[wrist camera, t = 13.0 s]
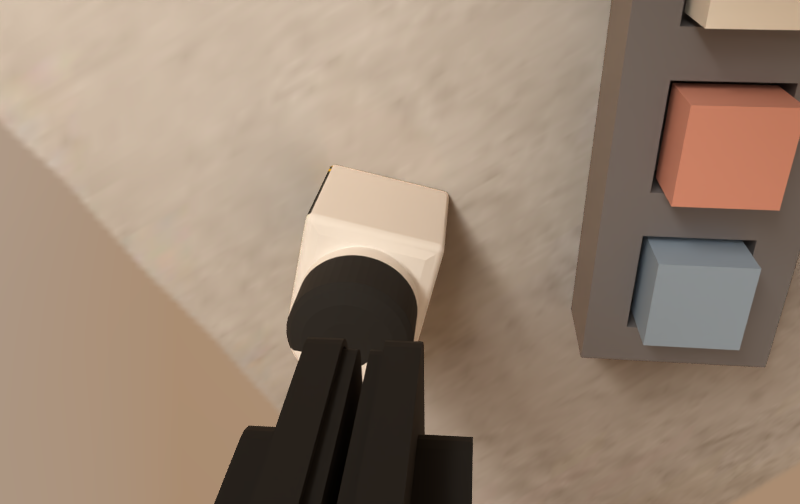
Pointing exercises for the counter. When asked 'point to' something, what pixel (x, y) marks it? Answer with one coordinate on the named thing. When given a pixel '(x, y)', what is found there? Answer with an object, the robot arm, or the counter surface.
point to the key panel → (643, 196)
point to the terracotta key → (728, 145)
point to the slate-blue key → (694, 292)
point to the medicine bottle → (367, 261)
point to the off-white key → (745, 14)
